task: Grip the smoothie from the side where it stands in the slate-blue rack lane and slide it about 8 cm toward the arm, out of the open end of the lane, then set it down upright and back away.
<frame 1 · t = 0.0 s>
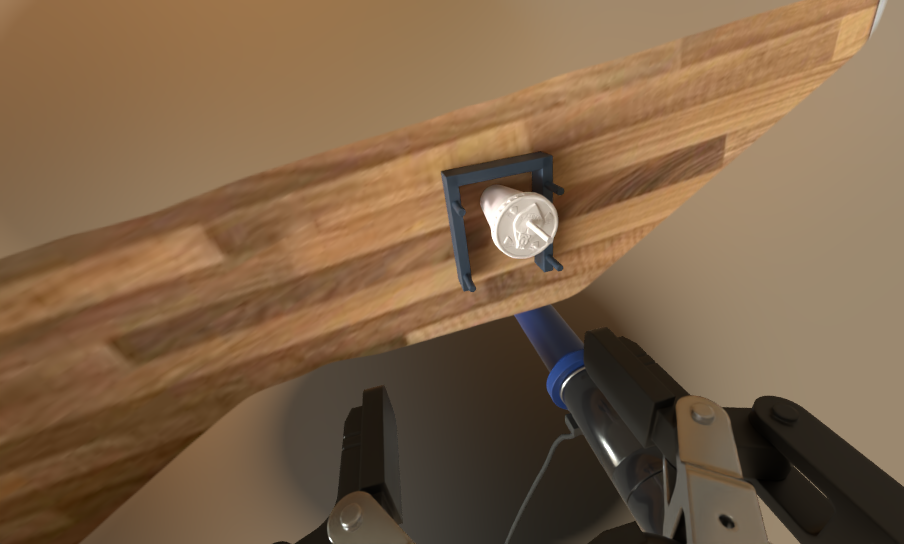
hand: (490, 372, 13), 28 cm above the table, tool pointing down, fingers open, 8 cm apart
rack: (496, 220, 41), on the table
smoothie: (494, 199, 40), on the table
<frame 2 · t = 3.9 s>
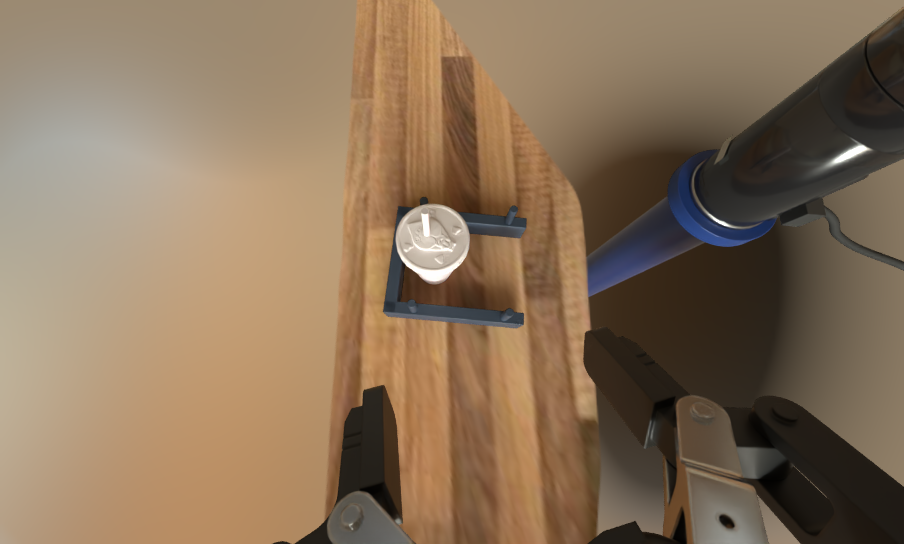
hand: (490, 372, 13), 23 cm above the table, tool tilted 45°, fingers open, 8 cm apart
rack: (456, 270, 38), on the table
smoothie: (434, 269, 38), on the table
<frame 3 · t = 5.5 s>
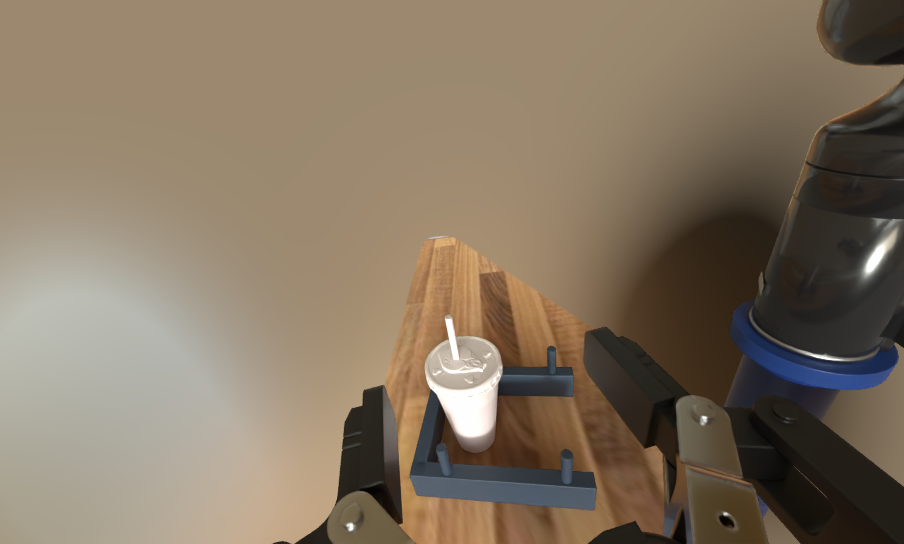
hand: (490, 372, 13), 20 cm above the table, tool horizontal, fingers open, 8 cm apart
rack: (502, 435, 32), on the table
smoothie: (476, 435, 32), on the table
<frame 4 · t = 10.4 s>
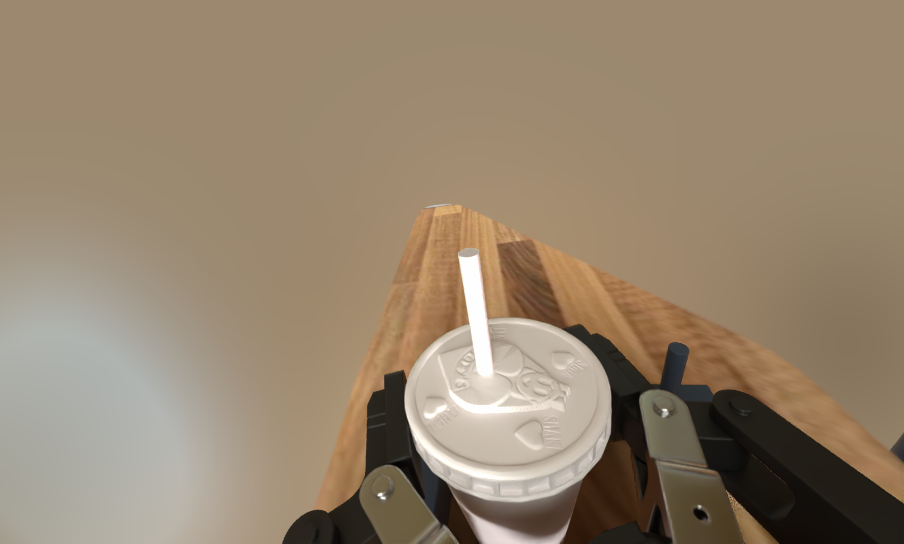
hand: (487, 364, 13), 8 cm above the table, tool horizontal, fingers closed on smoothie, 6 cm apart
rack: (577, 534, 15), on the table
smoothie: (519, 530, 15), on the table, touching gripper
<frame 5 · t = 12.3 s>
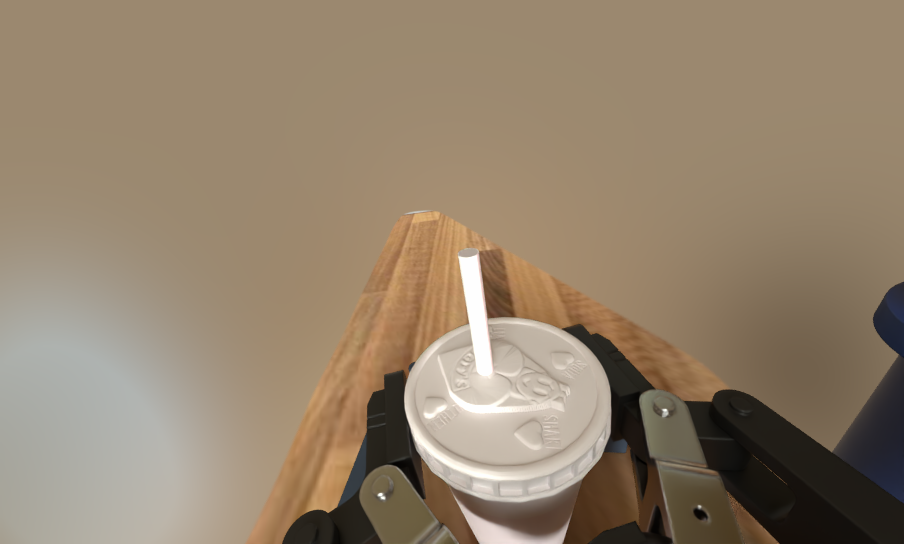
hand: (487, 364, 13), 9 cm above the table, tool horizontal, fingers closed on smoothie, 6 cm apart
rack: (495, 539, 16), on the table
smoothie: (519, 530, 15), point 1 cm above the table, touching gripper
when the fingers open (8 cm above the table, at t = 14.5 s): smoothie stays where it is, on the table.
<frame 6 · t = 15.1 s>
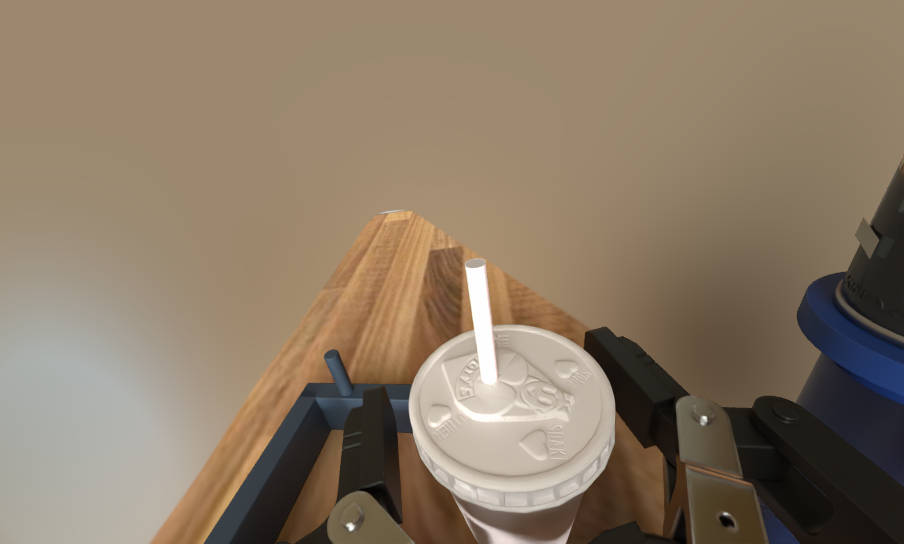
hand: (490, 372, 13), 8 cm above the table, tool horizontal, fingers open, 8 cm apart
rack: (395, 518, 17), on the table
smoothie: (520, 535, 15), on the table
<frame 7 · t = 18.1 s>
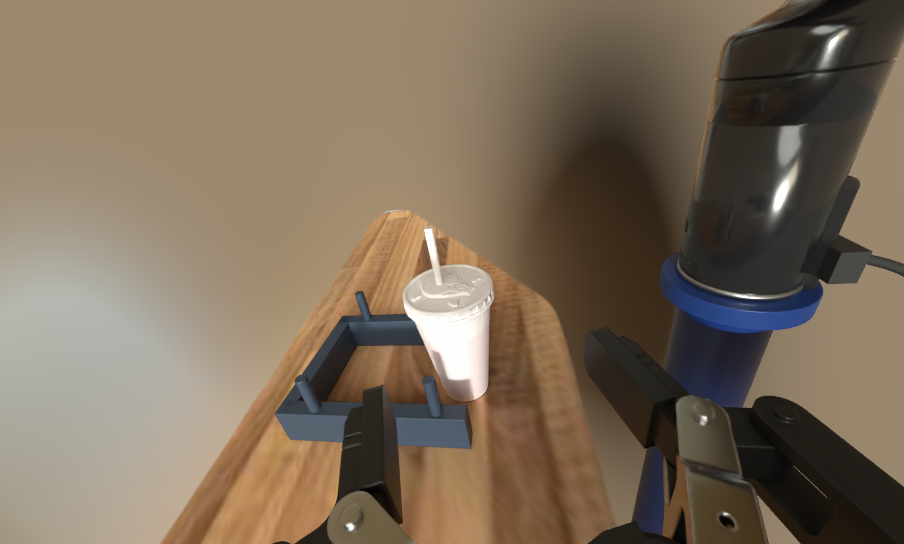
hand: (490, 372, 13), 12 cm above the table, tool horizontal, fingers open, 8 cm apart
rack: (397, 381, 29), on the table
smoothie: (466, 384, 28), on the table
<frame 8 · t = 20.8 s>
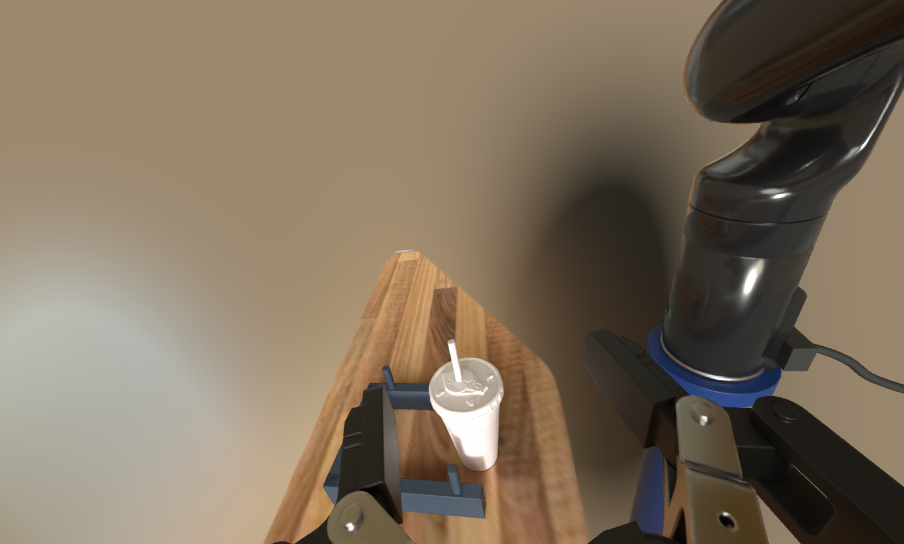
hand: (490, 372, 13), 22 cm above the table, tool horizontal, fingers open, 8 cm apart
rack: (420, 448, 35), on the table
smoothie: (479, 453, 33), on the table
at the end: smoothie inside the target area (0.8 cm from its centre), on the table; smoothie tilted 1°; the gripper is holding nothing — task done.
